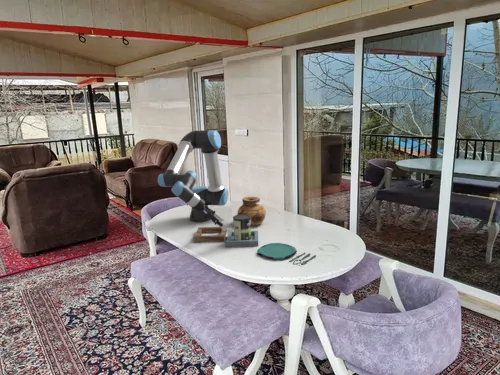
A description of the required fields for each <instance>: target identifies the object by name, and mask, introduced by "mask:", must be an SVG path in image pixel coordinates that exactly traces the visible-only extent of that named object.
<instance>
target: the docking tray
mask: <svg viewBox="0 0 500 375" xmlns="http://www.w3.org/2000/svg"><path fill="white" fill-rule="evenodd" d="M227 232H228V233H227V237H226V238H227V239H226V247H227V248H236V247H237V248H239V247H240V248H242V247H259V230H251V240H234V230H229V231H227Z"/></svg>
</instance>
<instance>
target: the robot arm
mask: <svg viewBox="0 0 500 375" xmlns="http://www.w3.org/2000/svg"><path fill="white" fill-rule="evenodd" d="M221 147H222V138H221V135H220V133H219V131H217V130H216V129H215V130H213V129H211V130H210V129H207V130H204V129H203V130H192V131H189V132H188V133H186V134H184V136H183V137H182V138H181V139H180V140H179V142H178V149H177V150H176V152H175V154H174V156H173V157H172V159H171V161H170V164H169V165H168V167H167V169H166V170H165V172H163V173H160V174H159V175H158V177H157V184H158V185H159V186H160V187H163V188H164V187H165V188H171V189H170V190H171V192H172V194H174V196H176V198H179V199H180V200H181V201H182V202H184V203H185V204H186V206H189V207H190V208H191V210H190V213H189V221H190V222H195V223H202V222H207V221H210V220H211V222H213V224H214V225H215V226H216V225H217V227H221V228H222V229H223V230H224V231H225V230H226V229H227V230H228V226H227V225H226V224H225V223H224V222H223V221H224V218H222V217H221V216H220V215H218V214H217V213H216V211H215V210H212V209H211V208H210V207H209V206H222V207H223V206H225V205H226V204H227V202H228V200H229V189H228V188H226V187H225V185H224V184H223V183H222V178H221V169H220V163H219V156H218V152H219V151H220V149H221ZM195 149H200V151H201V153H202V154H203V155H204V161H205V169H206V173H207V180H208V187H207V185H201V186H195V184H196V182H197V180H198V175H197V173H196V172H195V171H193V170H187V171H186V172H184V173H181V171H182V169H183V167H184V166H185V163H186V161H187V159H188V157H189V155H190V153H192V152H193V150H195ZM194 186H195V187H194Z"/></svg>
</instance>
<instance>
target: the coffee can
mask: <svg viewBox="0 0 500 375" xmlns="http://www.w3.org/2000/svg"><path fill="white" fill-rule="evenodd" d="M250 218H251V217H250V215H245V214H240V215H238V214H236V215H234V216H232V219H233V220H232V224H233V231H234V240H251V231H252V228H251V226H252V225H251V222H250Z"/></svg>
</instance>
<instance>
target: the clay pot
mask: <svg viewBox="0 0 500 375" xmlns="http://www.w3.org/2000/svg"><path fill="white" fill-rule="evenodd" d="M241 199H242V205H241V206H240V207H238V209H237V215H240V214H245V215H250V217H251V218H250V222H251V226H258V225H260V224H262V223H263V222H264V221H265V218H266V214H267V213H266V208H265V207H264V206H263V205H261V204H259V203H260V201H261V199H260V197H258V196H245V197H242V198H241Z"/></svg>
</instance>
